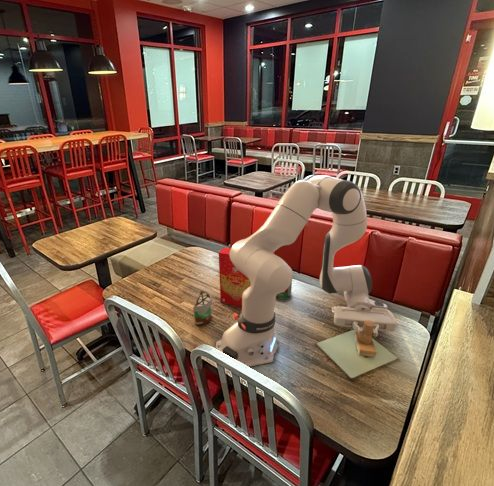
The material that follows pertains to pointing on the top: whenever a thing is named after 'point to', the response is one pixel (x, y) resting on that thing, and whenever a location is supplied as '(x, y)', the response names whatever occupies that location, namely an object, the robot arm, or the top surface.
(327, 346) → the mat
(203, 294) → the food container
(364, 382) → the top surface
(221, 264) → the food packaging
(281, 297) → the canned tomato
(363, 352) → the wooden block stack
